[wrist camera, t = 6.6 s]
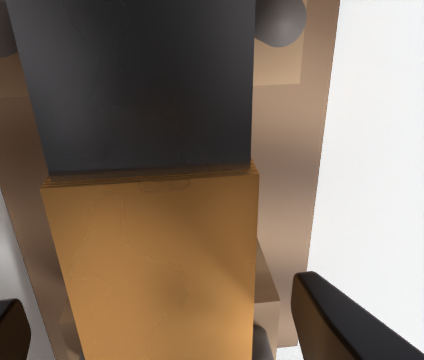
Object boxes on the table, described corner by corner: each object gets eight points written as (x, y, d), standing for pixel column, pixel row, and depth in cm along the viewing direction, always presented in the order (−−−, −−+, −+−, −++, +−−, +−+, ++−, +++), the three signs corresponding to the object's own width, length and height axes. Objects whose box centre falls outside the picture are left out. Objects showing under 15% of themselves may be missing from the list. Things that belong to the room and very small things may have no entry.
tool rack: (291, 330, 20) (338, 457, 15) (64, 354, 19) (23, 501, 13) (354, -240, 10) (584, -523, 4) (-120, -256, 9) (-578, -654, 3)
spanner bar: (226, 376, 13) (245, 500, 10) (137, 386, 13) (127, 518, 10) (224, -101, 7) (274, -182, 4) (50, -100, 7) (-62, -187, 3)
